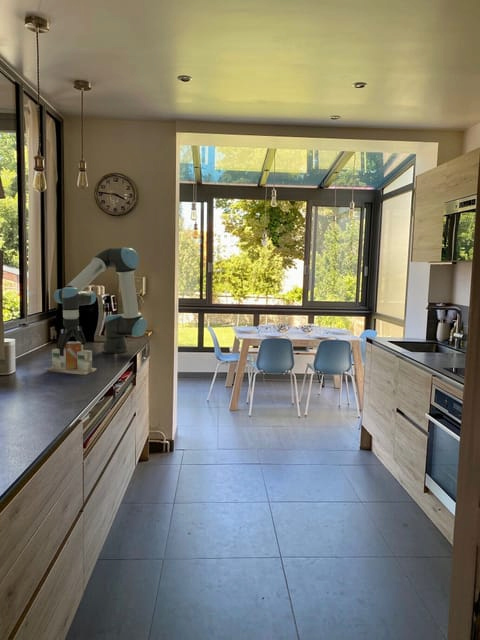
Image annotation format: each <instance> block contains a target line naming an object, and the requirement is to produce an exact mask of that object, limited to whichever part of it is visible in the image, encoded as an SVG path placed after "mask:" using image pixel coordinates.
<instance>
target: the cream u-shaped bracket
mask: <svg viewBox="0 0 480 640" xmlns="http://www.w3.org/2000/svg"><path fill="white" fill-rule="evenodd" d="M51 355H52V360H51V361H52V362H51V363H52V366H51V367H50V368H47V371H48V372H55V373H65V374H74V375H88V374H90V373H94V372H96V371H98V368H97V367H96V368H95V367H93V351H92V350H89V349H87V350H86V349H83V350H82V351H78V352H77V367H78V368H73V369H65V368H64V367H63V362H60V350H59V349H57V348H52V349H51Z"/></svg>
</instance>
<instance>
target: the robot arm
mask: <svg viewBox="0 0 480 640" xmlns="http://www.w3.org/2000/svg"><path fill="white" fill-rule="evenodd" d="M139 261H140V260H139V255H138V253H137V251H136V250H135V249H133V248H131V247H107V248H105V249H104V250H102V251H100V252H98V253H97V254H96V255H95V256H94V257H93V258H92V259H91V260H90V263H89V264H88V265H87V266H86V267H85V268H84V269H82V271H80V272H79V274H78V275H76V277H74V278H73V279H72V280H71V281H70V282H69V283H67V284H66V286H65V287H63V288H60V289H56V290H55V291H54V293H53V299H54V301H55V302H56V303H57V304H62V317H63V319H62V325H63V327H64V328H60V330H59V336H58V338H57V343H56V346H55V349H59V350H60V362H66V349H64V348H65V346H66V344H67V342H69V341H70V339H71V338H73V337H74V339H75V340H76V341H79V342H81V348H82V350H84V345H86V343H87V340H86V337H85V334H84V332H83V328H82V327H83V326H81V325H80V319H79V317H80V312H79V311H80V310H79V309H80V308H79V307H80V306H87V305H88V306H90V305H93V304H95V302H96V300H97V294H96V293H95V292H94V291H93V290H89V289H86V288H87V286H88V285H90V283H91V282H93V280H95V279H96V278H97V277H98V276H99V275H100V274H101V273H103V272H106V270H108V269H110V268H111V269H112V268H114V269H115V273H116V274H118V278H119V279H118V280H119V285H120V292H121V299H122V307H123V313H120V314H119V313H118V314H111V315H110V314H109V315H106V316H105V319H104V320H105V322H104V326H105V327H104V330H105V340H104V344H103V347H102V352H103V353H106V354H122V352H123V353H126V352H128V350H129V349H128V347H129V346H128V345H127V342H126V336H127V337H142V336H143V335H145V333H146V330H147V327H148V326H147V325H148V323H147V319H146V318H144V317H143V315H142V313H141V311H139V305H138V296H137V290H136V282H135V280H136V279H135V274H134V273H135V272H136V270H137V267H138V266H139ZM84 289H85V290H84Z"/></svg>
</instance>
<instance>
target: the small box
mask: <svg viewBox="0 0 480 640" xmlns="http://www.w3.org/2000/svg"><path fill="white" fill-rule="evenodd" d="M64 349H66V362H63V367H64V368H65V369H73V368H78V367H77V352H78V351H82V348H81V342H79V341H77V340H76V341H68V342H67V344H66V346H65V348H64Z"/></svg>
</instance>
